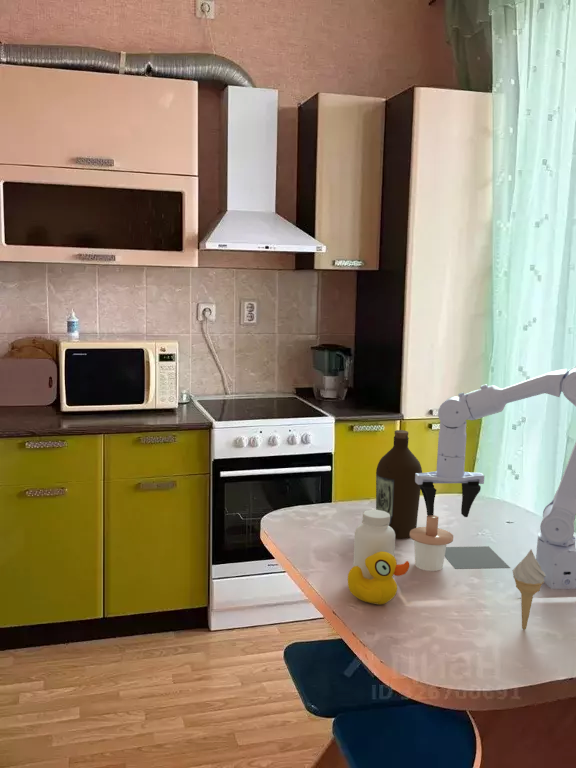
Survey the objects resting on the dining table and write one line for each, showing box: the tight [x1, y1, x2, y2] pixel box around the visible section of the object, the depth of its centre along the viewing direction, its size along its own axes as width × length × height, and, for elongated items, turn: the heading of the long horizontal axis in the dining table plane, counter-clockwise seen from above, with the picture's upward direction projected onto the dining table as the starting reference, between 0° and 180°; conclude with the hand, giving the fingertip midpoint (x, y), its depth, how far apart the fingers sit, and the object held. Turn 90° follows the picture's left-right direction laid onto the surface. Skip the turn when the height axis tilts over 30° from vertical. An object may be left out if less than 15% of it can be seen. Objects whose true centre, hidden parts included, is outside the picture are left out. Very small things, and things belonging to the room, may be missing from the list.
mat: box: [444, 545, 511, 570], centre depth 164 cm, size 12×12×1 cm
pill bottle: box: [352, 509, 396, 579], centre depth 148 cm, size 8×8×15 cm
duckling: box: [347, 551, 410, 605], centre depth 141 cm, size 11×5×10 cm, turn 75°
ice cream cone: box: [512, 548, 546, 631], centre depth 132 cm, size 6×6×15 cm
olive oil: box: [375, 429, 423, 540], centre depth 176 cm, size 11×11×25 cm
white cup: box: [413, 540, 448, 572], centre depth 158 cm, size 7×7×7 cm
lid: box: [409, 514, 454, 546], centre depth 157 cm, size 9×9×4 cm
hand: (447, 515), depth 161 cm, fingers open, 7 cm apart
